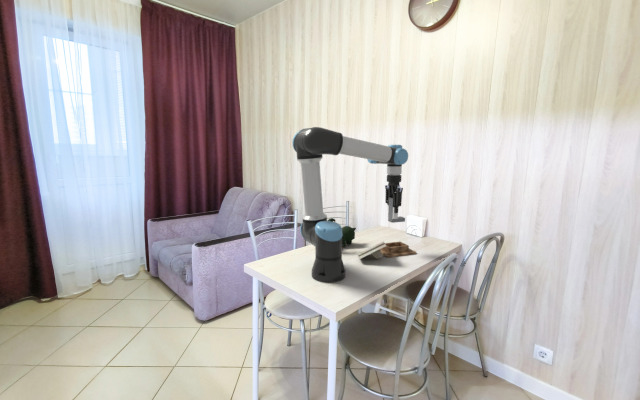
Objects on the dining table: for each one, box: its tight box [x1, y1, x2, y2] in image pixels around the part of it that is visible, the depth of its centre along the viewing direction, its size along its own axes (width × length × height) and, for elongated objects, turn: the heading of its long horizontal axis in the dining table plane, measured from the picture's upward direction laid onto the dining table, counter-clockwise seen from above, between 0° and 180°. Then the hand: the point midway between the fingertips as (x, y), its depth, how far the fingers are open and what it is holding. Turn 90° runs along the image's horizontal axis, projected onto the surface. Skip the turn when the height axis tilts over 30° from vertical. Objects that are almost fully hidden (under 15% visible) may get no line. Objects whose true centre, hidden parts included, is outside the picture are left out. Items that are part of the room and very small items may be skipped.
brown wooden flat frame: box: [380, 241, 417, 259], centre depth 164 cm, size 18×14×4 cm
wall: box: [357, 241, 386, 260], centre depth 153 cm, size 16×9×15 cm
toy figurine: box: [327, 217, 357, 247], centre depth 173 cm, size 9×19×25 cm
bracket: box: [387, 197, 406, 224], centre depth 161 cm, size 8×4×13 cm, turn 109°
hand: (392, 217), depth 161 cm, fingers closed on bracket, 4 cm apart
